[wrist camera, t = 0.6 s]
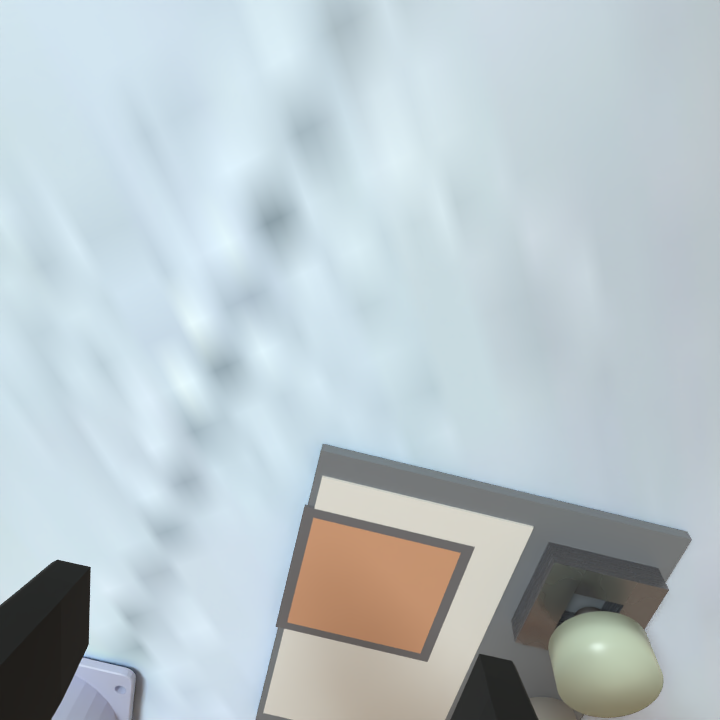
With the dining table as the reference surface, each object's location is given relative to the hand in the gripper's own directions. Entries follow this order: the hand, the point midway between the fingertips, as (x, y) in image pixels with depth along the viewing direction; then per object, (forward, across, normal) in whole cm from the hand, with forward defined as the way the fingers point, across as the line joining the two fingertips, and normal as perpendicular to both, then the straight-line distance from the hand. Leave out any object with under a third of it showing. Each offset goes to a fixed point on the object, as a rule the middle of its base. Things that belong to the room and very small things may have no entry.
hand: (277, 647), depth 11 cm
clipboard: (+10, -6, +10) cm, 15 cm away
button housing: (+10, -10, +6) cm, 15 cm away
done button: (+10, -10, +6) cm, 15 cm away
